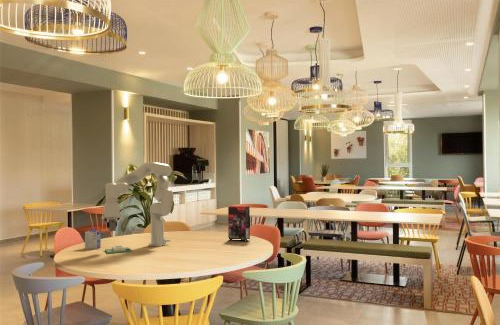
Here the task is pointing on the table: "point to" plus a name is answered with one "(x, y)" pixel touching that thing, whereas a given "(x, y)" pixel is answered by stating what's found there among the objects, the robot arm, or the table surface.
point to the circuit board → (118, 249)
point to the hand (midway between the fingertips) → (112, 227)
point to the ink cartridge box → (93, 239)
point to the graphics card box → (239, 222)
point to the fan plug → (112, 224)
